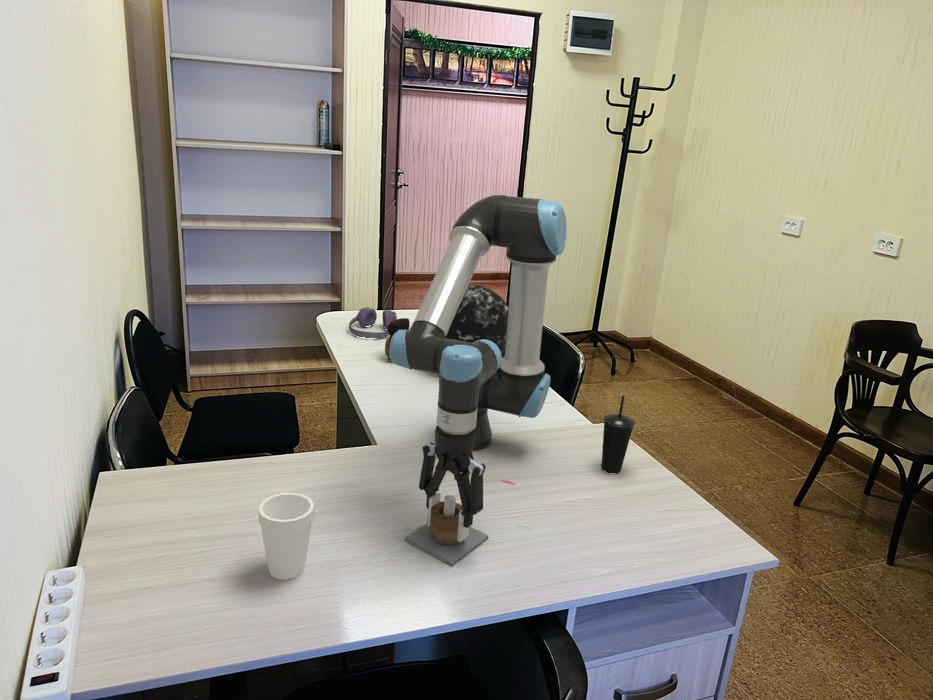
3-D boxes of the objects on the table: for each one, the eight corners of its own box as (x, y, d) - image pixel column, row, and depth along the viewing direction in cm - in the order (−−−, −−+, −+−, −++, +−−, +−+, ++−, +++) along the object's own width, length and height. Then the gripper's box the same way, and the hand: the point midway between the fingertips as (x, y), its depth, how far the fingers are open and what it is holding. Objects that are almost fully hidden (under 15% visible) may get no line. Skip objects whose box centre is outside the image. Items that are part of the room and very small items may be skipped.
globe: (466, 351, 246) (473, 272, 237) (527, 376, 227) (536, 290, 217) (405, 366, 226) (409, 280, 217) (465, 394, 207) (473, 301, 197)
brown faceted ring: (423, 532, 132) (424, 510, 131) (444, 518, 137) (446, 497, 136) (450, 546, 128) (452, 524, 127) (470, 532, 134) (472, 510, 132)
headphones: (359, 321, 271) (342, 342, 253) (358, 302, 267) (342, 323, 249) (402, 326, 268) (389, 348, 251) (402, 307, 265) (389, 328, 247)
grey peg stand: (404, 540, 132) (406, 498, 129) (442, 516, 142) (445, 476, 138) (452, 566, 126) (455, 522, 123) (488, 538, 135) (492, 497, 132)
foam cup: (266, 552, 125) (265, 492, 121) (316, 553, 126) (316, 493, 122) (255, 585, 116) (253, 521, 112) (309, 586, 117) (309, 522, 113)
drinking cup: (626, 479, 163) (640, 404, 157) (595, 474, 165) (607, 399, 158) (626, 465, 170) (638, 392, 164) (596, 460, 172) (607, 388, 165)
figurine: (395, 354, 237) (397, 314, 232) (412, 359, 234) (414, 318, 229) (379, 361, 229) (381, 320, 224) (396, 366, 226) (398, 324, 221)
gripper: (403, 416, 128) (398, 519, 135) (487, 450, 117) (476, 560, 125) (428, 405, 134) (421, 505, 141) (510, 437, 123) (498, 543, 131)
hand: (447, 531), depth 133 cm, fingers closed on brown faceted ring, 7 cm apart
